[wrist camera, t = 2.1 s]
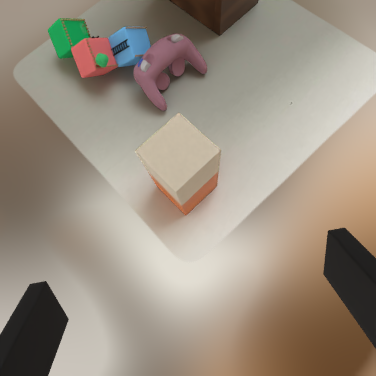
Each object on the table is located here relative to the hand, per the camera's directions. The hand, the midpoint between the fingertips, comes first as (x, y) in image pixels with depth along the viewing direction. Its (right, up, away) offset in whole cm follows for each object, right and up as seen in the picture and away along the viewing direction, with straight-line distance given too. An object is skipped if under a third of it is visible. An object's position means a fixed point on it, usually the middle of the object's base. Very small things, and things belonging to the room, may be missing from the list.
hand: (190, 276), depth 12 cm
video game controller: (-2, +20, +27) cm, 34 cm away
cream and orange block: (0, +4, +22) cm, 22 cm away
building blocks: (-12, +24, +29) cm, 40 cm away
